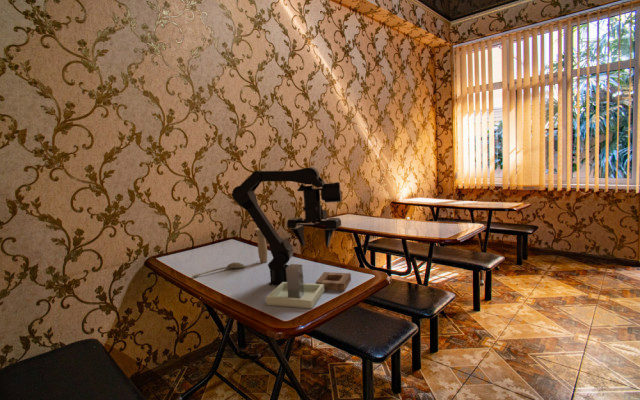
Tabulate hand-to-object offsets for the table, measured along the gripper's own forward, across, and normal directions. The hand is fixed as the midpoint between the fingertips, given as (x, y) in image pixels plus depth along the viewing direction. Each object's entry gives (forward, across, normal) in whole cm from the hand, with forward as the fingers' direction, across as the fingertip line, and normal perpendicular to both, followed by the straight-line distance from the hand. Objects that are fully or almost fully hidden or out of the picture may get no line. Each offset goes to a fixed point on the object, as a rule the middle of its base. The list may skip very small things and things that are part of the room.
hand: (315, 246), depth 121 cm
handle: (+13, +33, -17) cm, 39 cm away
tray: (+13, +2, +14) cm, 20 cm away
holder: (+13, -6, +1) cm, 15 cm away
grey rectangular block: (+12, +2, +15) cm, 19 cm away
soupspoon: (+14, +45, -2) cm, 47 cm away
